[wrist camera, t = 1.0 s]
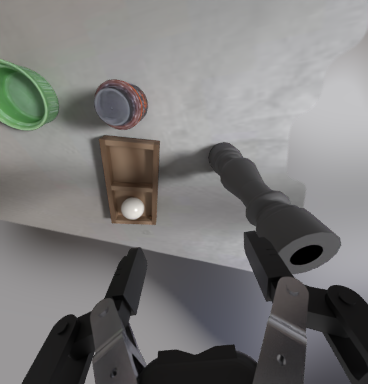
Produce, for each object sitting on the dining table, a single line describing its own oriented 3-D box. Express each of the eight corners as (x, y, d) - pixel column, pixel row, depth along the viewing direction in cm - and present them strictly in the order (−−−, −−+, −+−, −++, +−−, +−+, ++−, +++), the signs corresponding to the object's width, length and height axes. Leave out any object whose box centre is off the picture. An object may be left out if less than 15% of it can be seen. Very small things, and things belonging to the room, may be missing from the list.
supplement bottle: (152, 118, 30) (144, 130, 20) (121, 124, 30) (98, 139, 20) (142, 79, 26) (128, 72, 17) (107, 86, 26) (73, 83, 17)
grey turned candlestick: (203, 164, 35) (256, 270, 14) (216, 137, 32) (307, 221, 11) (227, 173, 37) (305, 279, 16) (241, 148, 34) (360, 238, 13)
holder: (115, 215, 41) (111, 223, 38) (104, 135, 30) (98, 139, 28) (156, 216, 42) (155, 224, 40) (159, 140, 32) (159, 145, 29)
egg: (124, 209, 39) (119, 223, 35) (123, 192, 36) (117, 205, 32) (145, 210, 40) (142, 224, 35) (145, 193, 37) (142, 206, 33)
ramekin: (-14, 85, 25) (-45, 84, 21) (23, 48, 23) (-5, 40, 20) (40, 135, 30) (22, 141, 26) (74, 107, 28) (60, 109, 24)
